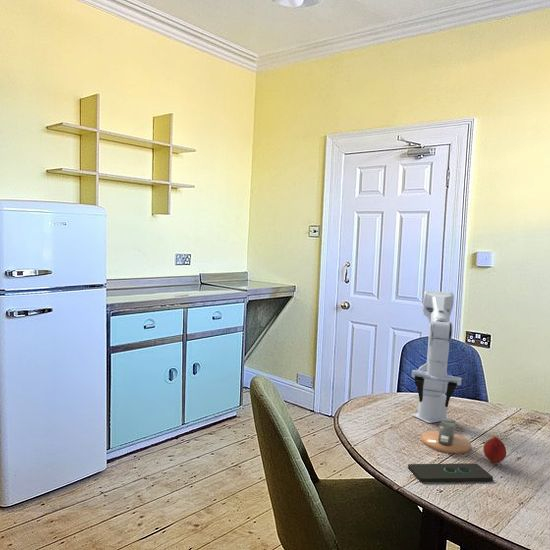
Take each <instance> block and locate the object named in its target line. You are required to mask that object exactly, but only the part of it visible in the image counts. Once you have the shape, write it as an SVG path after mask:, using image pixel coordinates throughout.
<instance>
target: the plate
mask: <svg viewBox="0 0 550 550" xmlns="http://www.w3.org/2000/svg"><path fill="white" fill-rule="evenodd" d="M438 436H439V430H428V431H425V432H423V433H422V434H421V442H422V444H424V445H425V446H427V447H428V448H430V449H432V450H435V451H438V452H441V453H446V454H447V453H448V454H454V455H455V454H457V455H458V454H459V455H460V454H467V453H468V452H470V451H471V448H472V443H471V442H470V440H468V439H467V438H465V437H463V436H462V435H459V434H457V433H455V434H454V440H453V444H452V446H444V445H441V444H439V443H438Z"/></svg>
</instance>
